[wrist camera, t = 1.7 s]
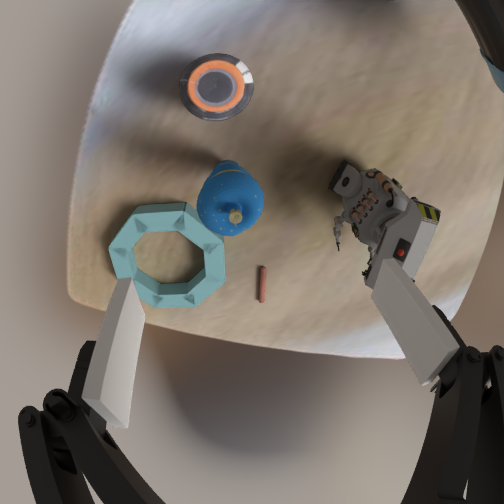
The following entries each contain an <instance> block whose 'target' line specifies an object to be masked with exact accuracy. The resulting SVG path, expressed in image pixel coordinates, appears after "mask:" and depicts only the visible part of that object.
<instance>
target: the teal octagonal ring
mask: <svg viewBox="0 0 504 504" xmlns="http://www.w3.org/2000/svg"><path fill="white" fill-rule="evenodd" d="M160 231H179V232H180V233H181V234H183V235H184V236H185V237H187V238H188V239H189V240H191V241H192V242H193V243H195V244H196V245H197V246H199V247H200V248H201V249H203V250H204V260H205V267H204V268H203V269H202V270H201V271H200V272H199V273H198V274H197V275H196V276H195V277H193V278H192V279H191V280H190V281H189V282H188V283H166V284H160V283H159V282H157V281H156V280H154V279H153V278H151V277H150V276H148V275H147V274H145V273H144V272H142V271H141V270H139V269H138V268H137V264H136V260H135V256H134V251H133V246H134V245H135V243H136V242H137V241H138V240H139V238H140V237H141V236H142V235H143V233H144V232H160ZM108 249H109V253H110V256H111V260H112V263H113V267H114V270H115V273H116V276H117V279H120V278H132V279H133V282H134V285H135V288H136V291H137V294H138V297H139V298H140V299H141V300H143V301H144V302H146V303H148V304H149V305H151V306H152V307H155V308H172V307H195V306H198V305H199V304H200V303H201V302H202V301H203V300H205V299H206V298H207V297H208V296H209V295H210V294H212V293H213V292H214V291H215V290H216V289H218V288H219V287H220V286H221V285H222V284H223V283H225V264H224V239H223V235H220V234H217V233H215V232H213V231H211V230H209V229H208V228H207V227H206V226H205V225H204V224H203V223H202V221H201V220H200V218H199V216H198V213H197V211H196V210H195V209H194V208H193V207H192V206H190V205H189V204H188V203H186V204H185V202H181V203H166V204H152V205H139V206H137V207H136V209H135V210H134V211H133V213H132V214H131V215H130V217H129V218H128V219H127V220H126V222H125V223H124V225H123V226H122V227H121V229H120V230H119V231H118V233H117V234H116V236H115V237H114V239H113V240H112V242H111V244H110V246H109V248H108Z"/></svg>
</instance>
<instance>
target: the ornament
mask: <svg viewBox="0 0 504 504" xmlns="http://www.w3.org/2000/svg"><path fill="white" fill-rule="evenodd" d="M263 205H264V197H263V192H262V189H261V187H260V185H259V184H258V183H257V181H256V180H255V179H254V178H253V177H252V176H251V175H250V174H249V173H248V172H247V171H246V170H244V169H243V168H242V167H240V166H239V165H238V164H237V163H236V162H234V161H231V160H225V161H222V162H220V163H218V164H217V165H216V166H215V168H214V169H213V172H212V173H211V174H210V176H209V177H208V178H207V179H206V181H205V183H204V185H203V187H202V189H201V191H200V193H199V196H198V200H197V213H198V216H199V218H200V220H201V221H202V223H203V224H204V225H205V226H206V227H207V228H208V229H209V230H211V231H213V232H215V233H217V234H220V235H225V236H235V235H237V234H239V233H241V232H242V231H244V230H246V229H248V228H250V227H251V226H252V225H253V224H254V223H255V222H256V221H257V220H258V218H259V216H260V215H261V212H262V209H263Z"/></svg>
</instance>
